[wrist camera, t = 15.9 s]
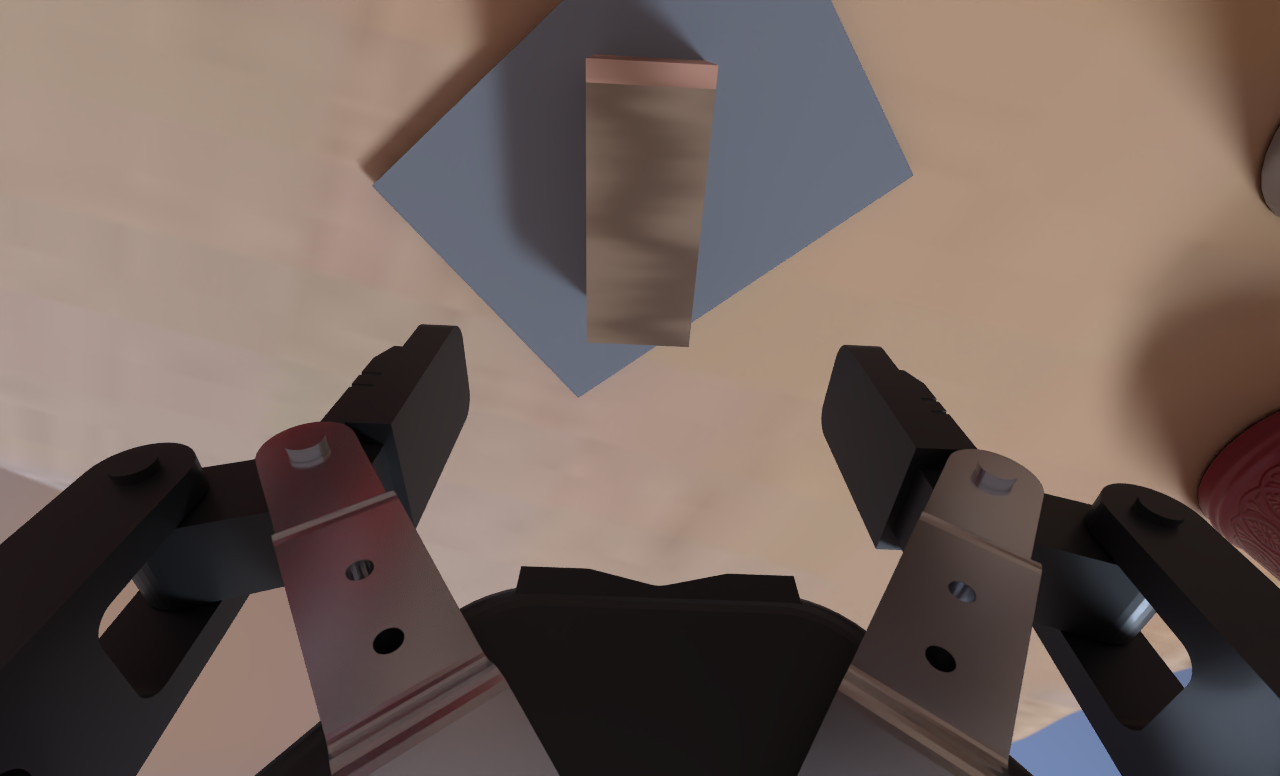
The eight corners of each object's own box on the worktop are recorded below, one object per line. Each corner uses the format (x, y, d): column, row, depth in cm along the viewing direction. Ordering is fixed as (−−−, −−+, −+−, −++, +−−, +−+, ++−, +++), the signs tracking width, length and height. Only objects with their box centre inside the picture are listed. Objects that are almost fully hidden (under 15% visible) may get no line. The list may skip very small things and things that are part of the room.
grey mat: (742, -170, 22) (746, -179, 21) (905, 171, 29) (913, 175, 28) (379, 181, 29) (372, 185, 28) (579, 389, 36) (578, 397, 35)
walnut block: (681, 305, 32) (705, 60, 25) (688, 346, 27) (718, 65, 21) (593, 301, 32) (594, 54, 25) (586, 342, 27) (585, 58, 21)
